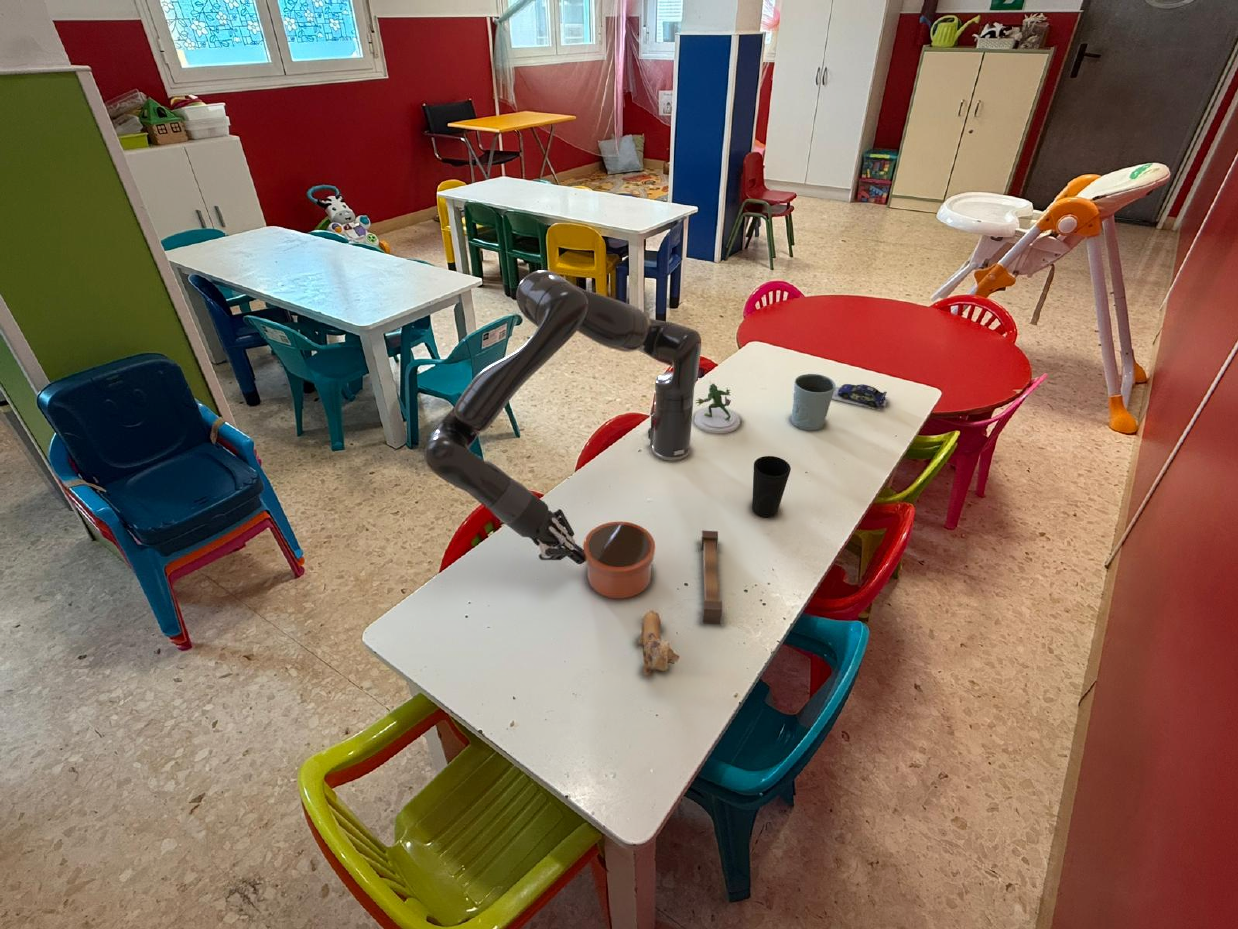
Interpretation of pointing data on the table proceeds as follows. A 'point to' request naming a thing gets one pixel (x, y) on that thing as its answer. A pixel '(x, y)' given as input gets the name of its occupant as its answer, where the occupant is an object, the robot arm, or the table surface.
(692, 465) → the table surface
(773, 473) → the cup
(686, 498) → the table surface
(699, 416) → the monster figurine
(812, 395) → the grey planter pot
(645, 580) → the terracotta pot
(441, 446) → the robot arm
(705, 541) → the oak rail
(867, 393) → the race car
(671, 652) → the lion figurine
